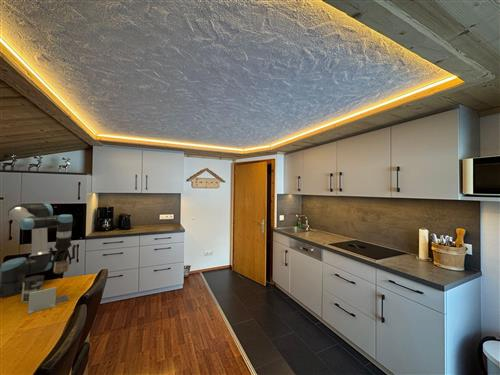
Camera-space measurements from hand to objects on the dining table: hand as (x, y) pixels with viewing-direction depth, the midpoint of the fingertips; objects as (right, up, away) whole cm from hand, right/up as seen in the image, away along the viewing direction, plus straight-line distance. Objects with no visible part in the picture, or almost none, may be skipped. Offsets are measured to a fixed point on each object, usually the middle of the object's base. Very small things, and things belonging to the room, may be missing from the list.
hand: (61, 270), depth 139 cm
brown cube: (0, -1, 0) cm, 0 cm away
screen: (-2, -20, -11) cm, 23 cm away
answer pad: (-1, -21, 0) cm, 21 cm away
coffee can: (-20, -20, 0) cm, 28 cm away
